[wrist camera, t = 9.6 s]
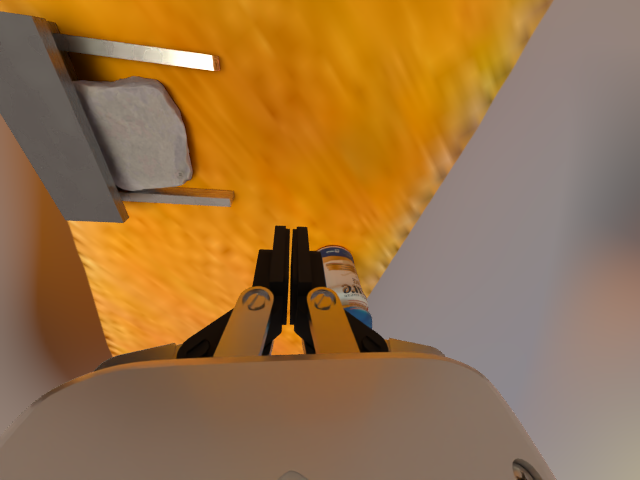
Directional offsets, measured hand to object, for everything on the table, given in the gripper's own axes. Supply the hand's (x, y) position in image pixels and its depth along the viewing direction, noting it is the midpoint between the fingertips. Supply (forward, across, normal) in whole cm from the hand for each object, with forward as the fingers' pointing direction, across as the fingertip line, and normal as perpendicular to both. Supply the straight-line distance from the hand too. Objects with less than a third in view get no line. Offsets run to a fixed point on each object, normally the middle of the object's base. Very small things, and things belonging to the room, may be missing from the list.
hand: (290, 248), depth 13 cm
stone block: (+22, +17, +1) cm, 28 cm away
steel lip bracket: (+22, +17, 0) cm, 28 cm away
